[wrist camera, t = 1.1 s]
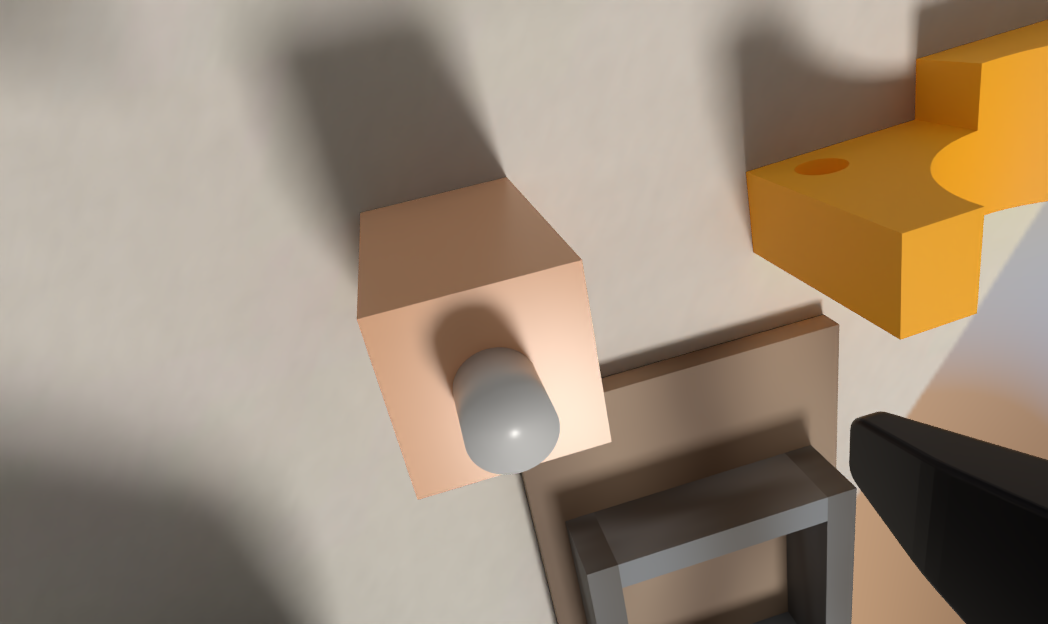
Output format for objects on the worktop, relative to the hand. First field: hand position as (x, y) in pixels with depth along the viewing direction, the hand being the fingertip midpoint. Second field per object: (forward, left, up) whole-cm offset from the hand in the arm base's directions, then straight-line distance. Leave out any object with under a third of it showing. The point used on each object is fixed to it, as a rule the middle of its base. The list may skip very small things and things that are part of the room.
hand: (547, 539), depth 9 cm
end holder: (+6, -14, -11) cm, 19 cm away
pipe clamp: (+15, 0, -11) cm, 19 cm away
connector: (0, 0, -11) cm, 11 cm away
